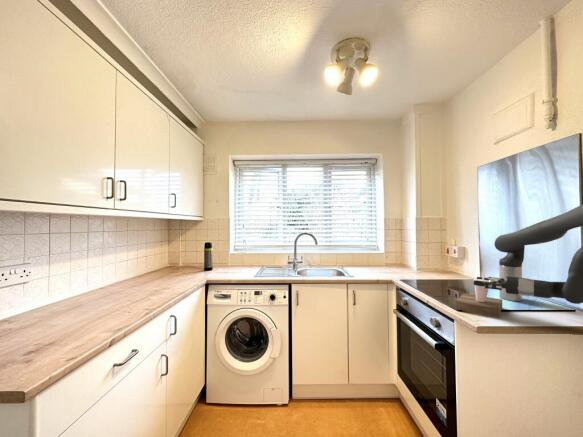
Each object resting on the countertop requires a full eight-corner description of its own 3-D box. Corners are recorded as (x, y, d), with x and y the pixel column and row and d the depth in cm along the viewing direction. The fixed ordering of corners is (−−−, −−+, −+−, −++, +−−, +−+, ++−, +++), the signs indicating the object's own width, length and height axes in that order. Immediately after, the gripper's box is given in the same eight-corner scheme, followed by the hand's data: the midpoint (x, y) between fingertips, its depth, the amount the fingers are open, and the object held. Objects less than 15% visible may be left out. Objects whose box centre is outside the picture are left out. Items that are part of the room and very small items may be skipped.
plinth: (463, 301, 142) (462, 293, 141) (502, 308, 131) (502, 299, 131) (456, 309, 129) (456, 301, 129) (499, 317, 119) (499, 308, 119)
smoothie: (492, 303, 125) (493, 272, 125) (476, 302, 126) (477, 270, 127) (485, 300, 131) (486, 270, 131) (470, 298, 132) (471, 269, 133)
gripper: (520, 274, 126) (477, 270, 136) (519, 280, 115) (472, 275, 126) (520, 291, 126) (477, 285, 137) (519, 298, 115) (472, 292, 126)
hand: (475, 280), depth 131 cm, fingers open, 8 cm apart
